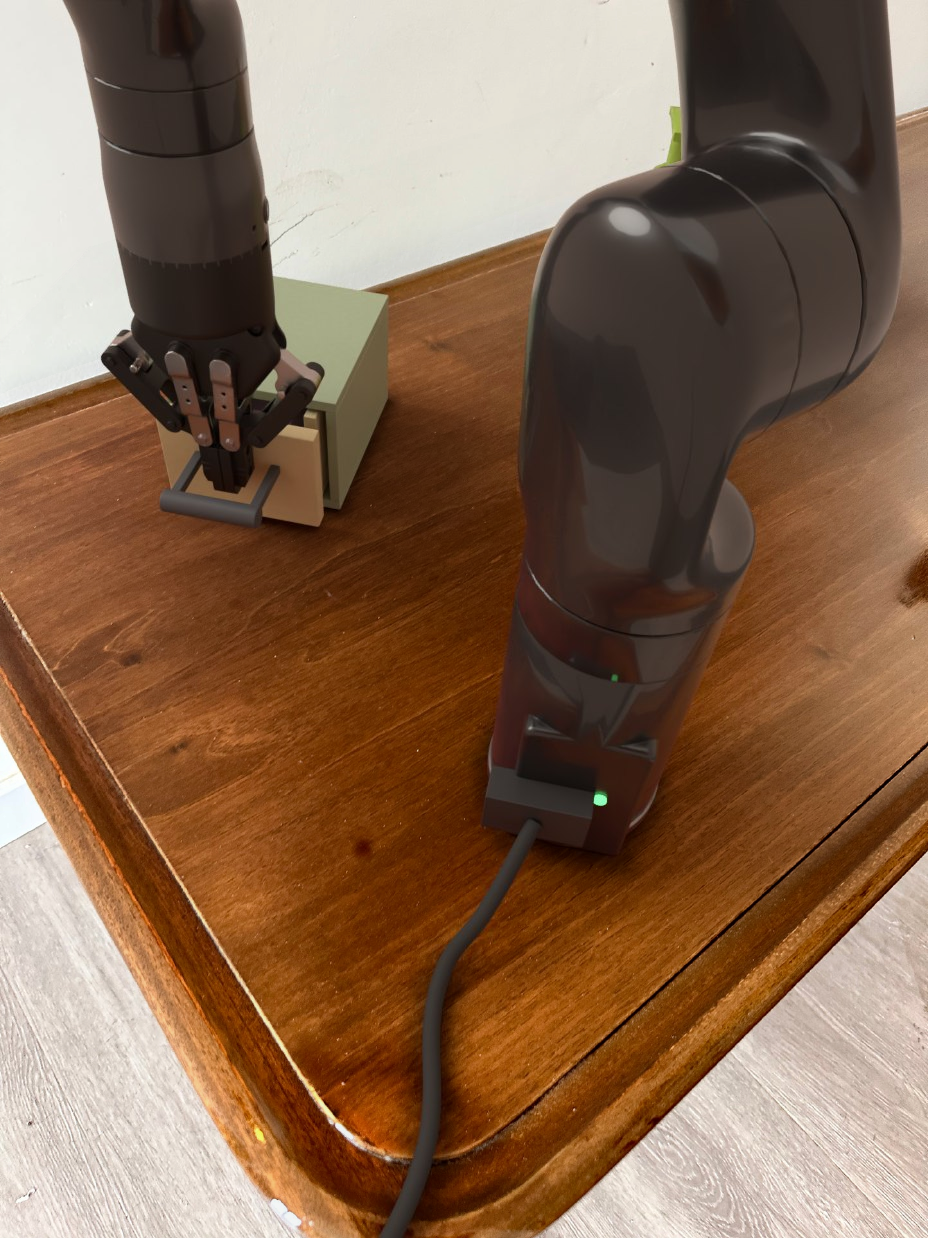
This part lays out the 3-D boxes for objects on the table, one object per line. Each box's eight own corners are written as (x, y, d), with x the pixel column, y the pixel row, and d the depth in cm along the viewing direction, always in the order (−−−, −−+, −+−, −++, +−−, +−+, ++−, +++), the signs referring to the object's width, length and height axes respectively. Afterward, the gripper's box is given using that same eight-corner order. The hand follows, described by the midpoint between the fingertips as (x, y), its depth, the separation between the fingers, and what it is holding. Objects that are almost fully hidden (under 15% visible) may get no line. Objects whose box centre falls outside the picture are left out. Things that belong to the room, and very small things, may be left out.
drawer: (294, 583, 60) (285, 497, 54) (140, 553, 61) (116, 466, 55) (367, 417, 71) (366, 332, 66) (237, 394, 72) (226, 308, 67)
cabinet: (340, 510, 66) (335, 404, 59) (183, 480, 67) (161, 373, 60) (388, 398, 74) (388, 294, 68) (248, 373, 75) (235, 269, 69)
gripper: (28, 233, 45) (107, 504, 58) (296, 277, 44) (315, 543, 57) (97, 167, 50) (156, 431, 63) (340, 206, 49) (348, 465, 62)
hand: (231, 484), depth 60 cm, fingers closed
